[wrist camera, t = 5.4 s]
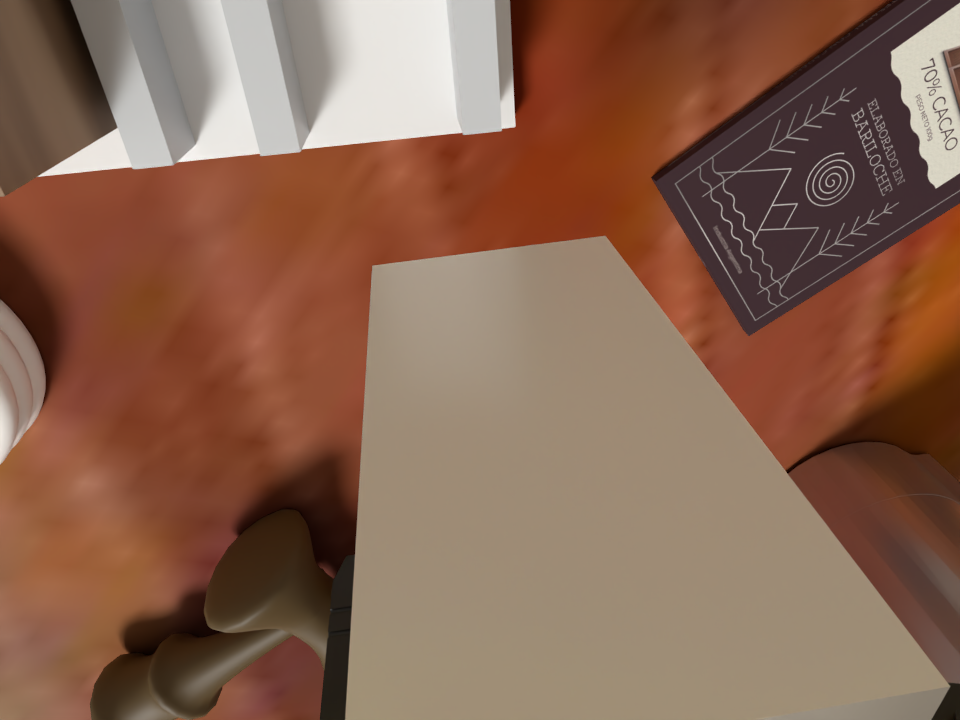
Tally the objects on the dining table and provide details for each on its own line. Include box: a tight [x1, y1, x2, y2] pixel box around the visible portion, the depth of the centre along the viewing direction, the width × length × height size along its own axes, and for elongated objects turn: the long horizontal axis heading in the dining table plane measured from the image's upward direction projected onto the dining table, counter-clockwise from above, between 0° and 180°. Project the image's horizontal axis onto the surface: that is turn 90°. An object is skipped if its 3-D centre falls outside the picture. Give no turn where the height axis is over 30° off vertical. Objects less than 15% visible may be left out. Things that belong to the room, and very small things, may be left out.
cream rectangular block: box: [345, 236, 950, 720], centre depth 10 cm, size 4×10×8 cm, turn 5°
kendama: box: [90, 509, 334, 720], centre depth 33 cm, size 6×10×20 cm
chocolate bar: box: [651, 0, 960, 336], centre depth 25 cm, size 9×1×18 cm
